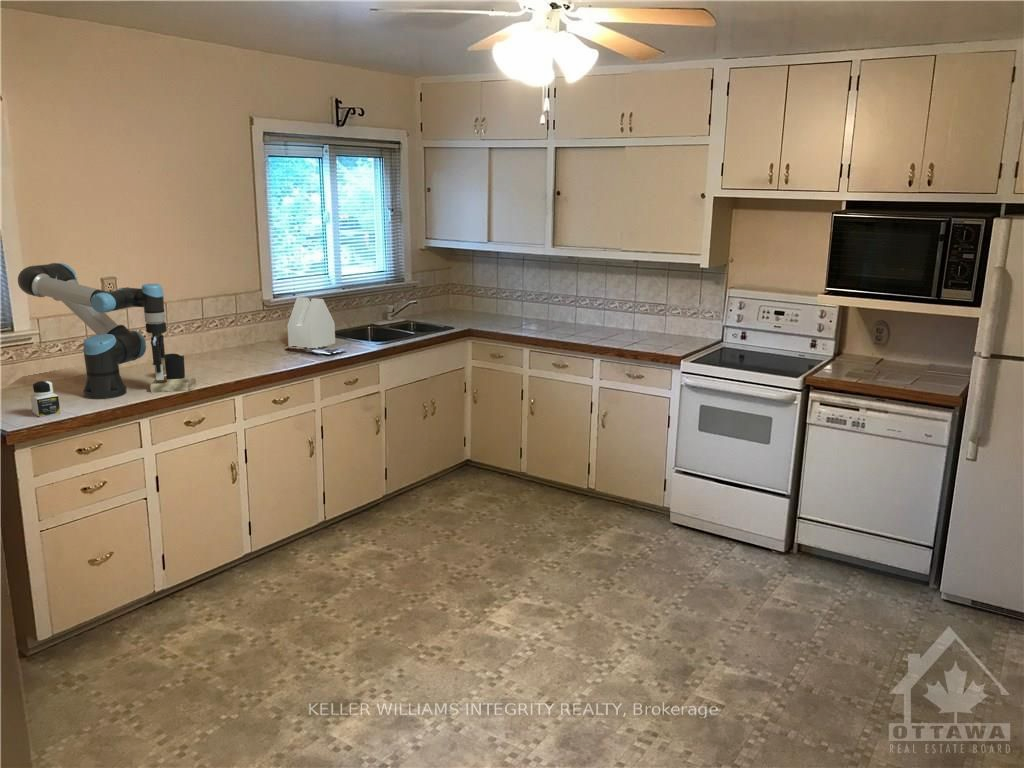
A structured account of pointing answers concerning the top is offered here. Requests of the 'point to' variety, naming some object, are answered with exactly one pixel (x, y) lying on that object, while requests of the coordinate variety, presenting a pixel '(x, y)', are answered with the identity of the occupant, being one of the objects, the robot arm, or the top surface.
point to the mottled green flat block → (174, 385)
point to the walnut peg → (163, 372)
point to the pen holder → (174, 366)
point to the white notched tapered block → (310, 324)
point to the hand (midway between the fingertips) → (161, 378)
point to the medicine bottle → (44, 399)
